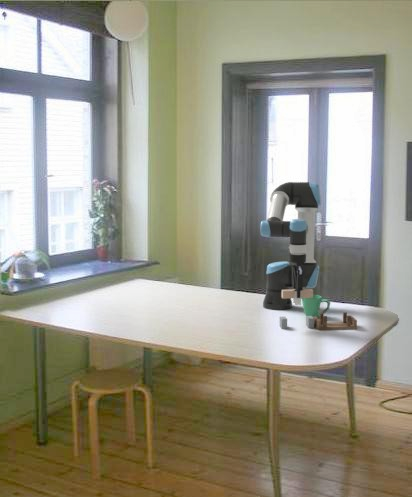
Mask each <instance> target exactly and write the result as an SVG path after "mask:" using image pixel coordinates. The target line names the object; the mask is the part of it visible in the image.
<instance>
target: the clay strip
mask: <svg viewBox="0 0 412 497" xmlns="http://www.w3.org/2000/svg"><path fill="white" fill-rule="evenodd" d="M294 290H296V289H293V288H292V289H290V288H289V290H282V298H283V299H287V298H291V299H293V298H295V291H294ZM313 295H314V289H313V288H303V290H302V291H301V299H302V298H313Z"/></svg>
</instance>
